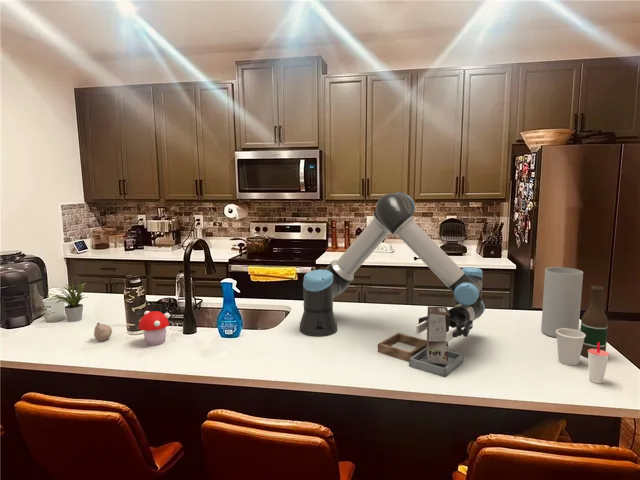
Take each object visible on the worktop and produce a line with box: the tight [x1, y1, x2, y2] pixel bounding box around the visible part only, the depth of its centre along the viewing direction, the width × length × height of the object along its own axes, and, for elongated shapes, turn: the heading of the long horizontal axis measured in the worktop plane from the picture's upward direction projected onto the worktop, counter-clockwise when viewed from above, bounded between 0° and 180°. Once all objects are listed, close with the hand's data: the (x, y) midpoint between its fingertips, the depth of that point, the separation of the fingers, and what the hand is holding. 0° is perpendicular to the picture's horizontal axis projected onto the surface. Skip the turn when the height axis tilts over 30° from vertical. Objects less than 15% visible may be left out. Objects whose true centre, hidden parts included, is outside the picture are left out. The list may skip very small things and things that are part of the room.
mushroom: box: [138, 310, 171, 347], centre depth 157 cm, size 11×11×12 cm
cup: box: [587, 342, 610, 385], centre depth 125 cm, size 5×5×12 cm
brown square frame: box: [377, 332, 427, 362], centre depth 149 cm, size 13×14×3 cm
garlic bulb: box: [93, 322, 113, 342], centre depth 161 cm, size 7×6×8 cm
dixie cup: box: [556, 328, 586, 367], centre depth 139 cm, size 8×8×10 cm
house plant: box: [51, 282, 89, 323], centre depth 185 cm, size 14×14×16 cm
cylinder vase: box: [540, 266, 584, 339], centre depth 163 cm, size 12×12×25 cm
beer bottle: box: [579, 285, 609, 359], centre depth 143 cm, size 8×8×24 cm
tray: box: [408, 347, 465, 378], centre depth 138 cm, size 12×14×2 cm
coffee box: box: [426, 305, 450, 364], centre depth 137 cm, size 9×6×16 cm
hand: (431, 333), depth 133 cm, fingers closed on coffee box, 9 cm apart
